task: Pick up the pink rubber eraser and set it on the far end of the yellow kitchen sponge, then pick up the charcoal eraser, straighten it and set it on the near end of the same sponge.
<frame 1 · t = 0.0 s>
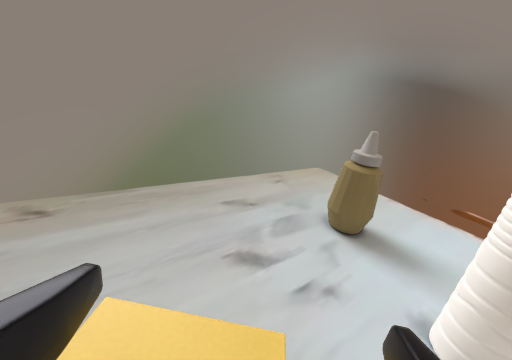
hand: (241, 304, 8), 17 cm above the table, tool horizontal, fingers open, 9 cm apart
water bottle: (465, 351, 26), on the table
squeeze bottle: (343, 226, 47), on the table
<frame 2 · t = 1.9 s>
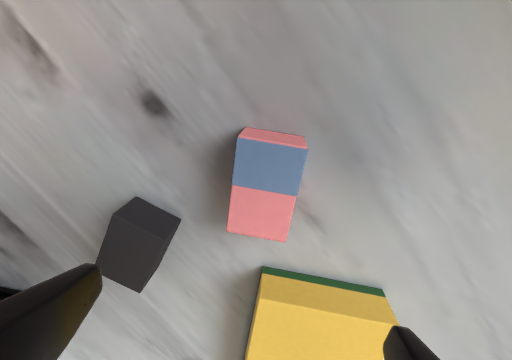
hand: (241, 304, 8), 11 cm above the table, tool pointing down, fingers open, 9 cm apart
grey eraser: (147, 233, 21), on the table
sponge: (301, 342, 24), on the table
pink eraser: (266, 176, 18), on the table
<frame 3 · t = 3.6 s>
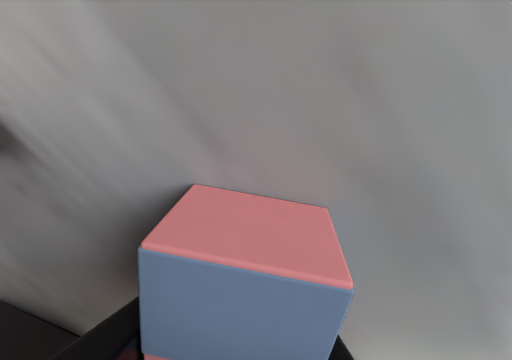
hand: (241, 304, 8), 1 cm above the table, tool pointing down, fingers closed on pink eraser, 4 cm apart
grey eraser: (34, 357, 11), on the table
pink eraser: (245, 279, 8), on the table, touching gripper
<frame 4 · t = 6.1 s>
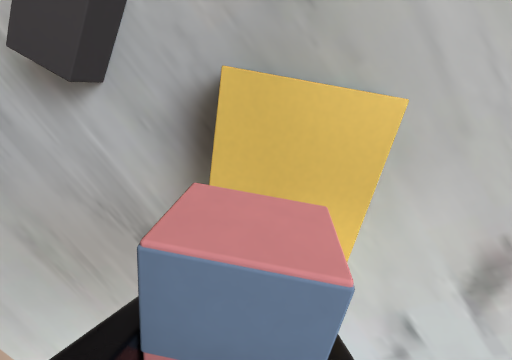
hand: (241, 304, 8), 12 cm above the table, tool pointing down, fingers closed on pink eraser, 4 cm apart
grey eraser: (87, 25, 16), on the table
sponge: (283, 192, 19), on the table
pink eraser: (245, 278, 8), point 11 cm above the table, touching gripper
when the fingers open (4 cm above the table, at t = 8.7 s): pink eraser stays where it is, resting on sponge.
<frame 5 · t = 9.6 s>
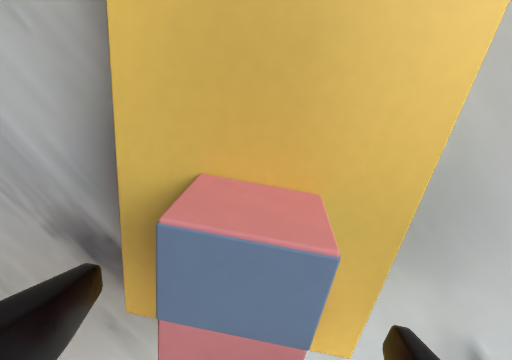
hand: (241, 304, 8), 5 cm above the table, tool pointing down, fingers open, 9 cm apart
sponge: (270, 140, 11), on the table, touching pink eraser
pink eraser: (246, 262, 9), point 3 cm above the table, touching sponge
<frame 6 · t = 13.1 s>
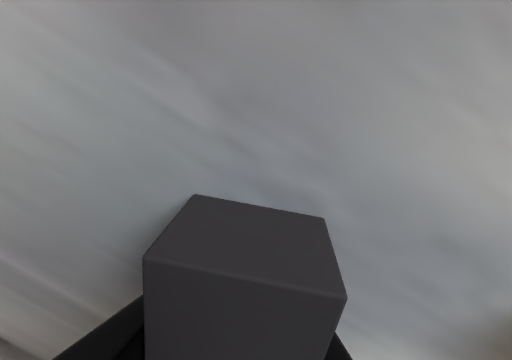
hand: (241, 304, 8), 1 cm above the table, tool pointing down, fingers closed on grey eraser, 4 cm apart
grey eraser: (245, 279, 8), on the table, touching gripper
when the fingers open (4 cm above the table, at t = 17.7 s): grey eraser stays where it is, resting on sponge.
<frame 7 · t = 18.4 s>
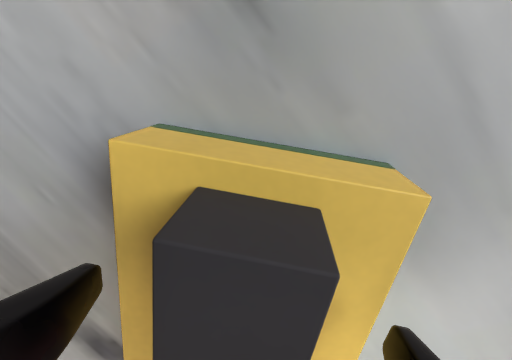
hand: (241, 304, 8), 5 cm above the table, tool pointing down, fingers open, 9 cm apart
grey eraser: (246, 268, 9), point 3 cm above the table, touching sponge
sponge: (245, 284, 14), on the table, touching grey eraser, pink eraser
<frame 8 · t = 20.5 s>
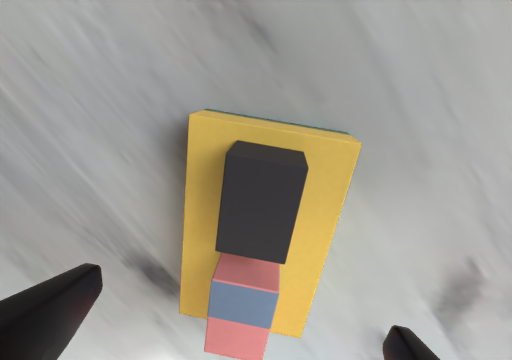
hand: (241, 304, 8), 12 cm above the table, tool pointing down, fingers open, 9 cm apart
grey eraser: (262, 190, 16), point 3 cm above the table, touching sponge
sponge: (258, 219, 20), on the table, touching grey eraser, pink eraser
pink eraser: (245, 288, 18), point 3 cm above the table, touching sponge
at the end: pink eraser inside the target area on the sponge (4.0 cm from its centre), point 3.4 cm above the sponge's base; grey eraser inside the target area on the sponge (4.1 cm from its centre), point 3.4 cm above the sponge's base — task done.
